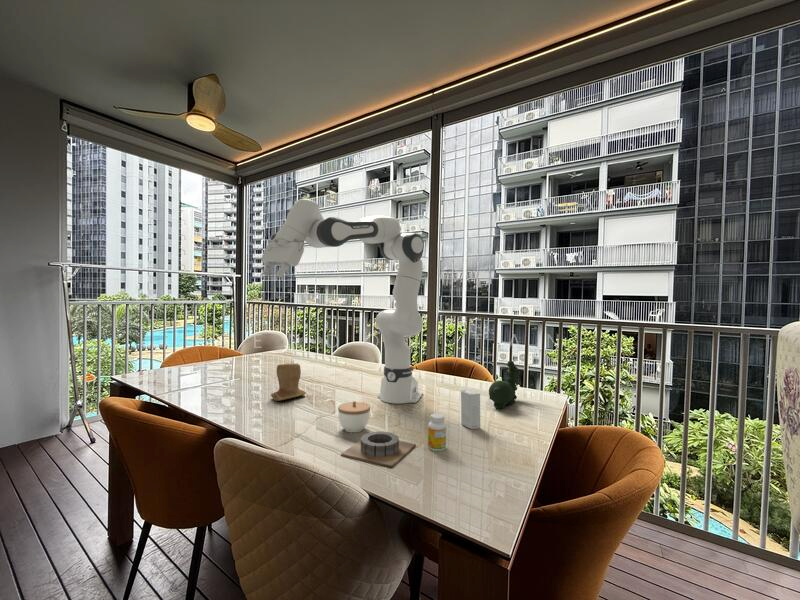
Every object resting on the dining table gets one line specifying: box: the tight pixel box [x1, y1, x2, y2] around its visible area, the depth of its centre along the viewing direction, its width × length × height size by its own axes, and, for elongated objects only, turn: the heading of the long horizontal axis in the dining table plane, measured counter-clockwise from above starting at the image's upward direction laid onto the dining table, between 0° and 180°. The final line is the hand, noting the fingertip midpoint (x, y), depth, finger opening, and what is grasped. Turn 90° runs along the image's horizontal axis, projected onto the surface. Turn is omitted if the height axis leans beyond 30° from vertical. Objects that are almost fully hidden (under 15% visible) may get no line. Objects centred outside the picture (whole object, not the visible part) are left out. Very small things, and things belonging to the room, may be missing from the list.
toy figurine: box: [488, 360, 519, 410], centre depth 157 cm, size 9×19×25 cm
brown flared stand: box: [270, 363, 307, 402], centre depth 162 cm, size 15×12×15 cm
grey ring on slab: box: [340, 430, 417, 469], centre depth 109 cm, size 16×16×4 cm
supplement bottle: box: [427, 413, 447, 452], centre depth 112 cm, size 5×5×10 cm
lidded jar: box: [337, 400, 371, 433], centre depth 126 cm, size 11×11×9 cm
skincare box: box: [460, 389, 481, 430], centre depth 131 cm, size 6×4×12 cm
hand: (271, 275), depth 124 cm, fingers open, 8 cm apart
